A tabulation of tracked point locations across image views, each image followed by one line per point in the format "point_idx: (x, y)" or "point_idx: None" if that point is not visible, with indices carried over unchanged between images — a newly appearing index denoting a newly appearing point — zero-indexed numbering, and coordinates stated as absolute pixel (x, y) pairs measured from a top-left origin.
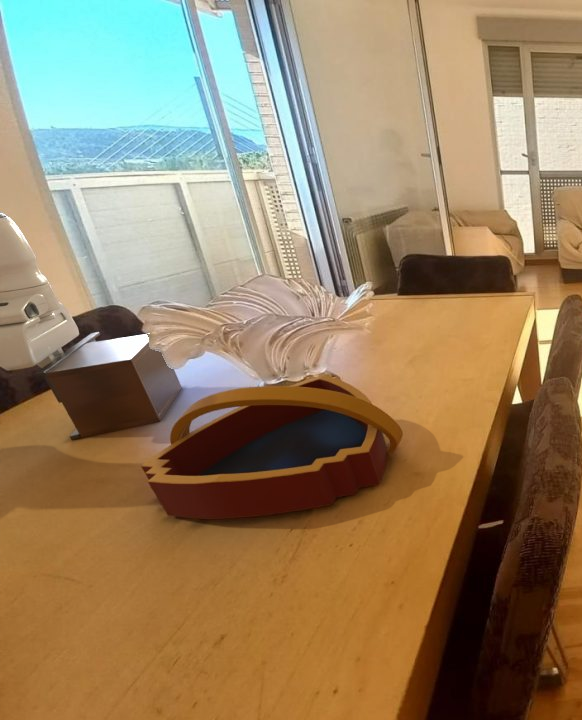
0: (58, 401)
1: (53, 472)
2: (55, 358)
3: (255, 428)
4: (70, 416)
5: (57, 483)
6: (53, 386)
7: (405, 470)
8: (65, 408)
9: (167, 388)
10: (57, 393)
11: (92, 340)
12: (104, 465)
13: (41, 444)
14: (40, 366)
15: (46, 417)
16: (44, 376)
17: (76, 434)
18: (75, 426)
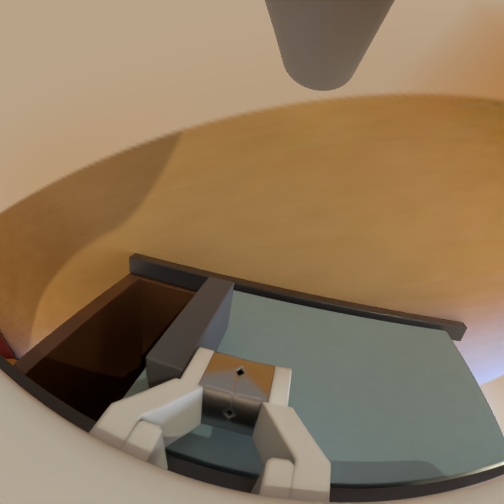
0: (207, 280)
1: (36, 242)
2: (272, 454)
3: None
4: (98, 297)
5: (16, 251)
6: (32, 349)
7: None
8: (82, 309)
9: None
10: (50, 335)
11: (497, 466)
12: (35, 296)
13: (151, 196)
14: (147, 392)
15: (385, 172)
16: (154, 348)
17: (132, 268)
18: (117, 283)
